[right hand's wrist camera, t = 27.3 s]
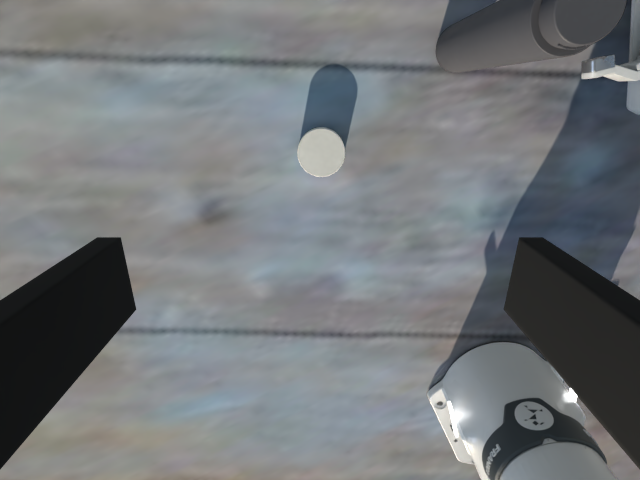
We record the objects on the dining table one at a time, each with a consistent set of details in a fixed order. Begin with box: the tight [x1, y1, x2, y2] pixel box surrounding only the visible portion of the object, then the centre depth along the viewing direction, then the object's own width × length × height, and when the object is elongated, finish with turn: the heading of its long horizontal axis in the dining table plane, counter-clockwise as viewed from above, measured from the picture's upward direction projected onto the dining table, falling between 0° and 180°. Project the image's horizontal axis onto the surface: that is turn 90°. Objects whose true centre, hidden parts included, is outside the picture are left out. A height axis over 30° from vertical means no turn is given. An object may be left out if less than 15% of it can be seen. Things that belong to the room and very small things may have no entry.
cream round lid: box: [297, 127, 345, 177], centre depth 40 cm, size 5×5×2 cm
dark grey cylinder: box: [436, 0, 627, 73], centre depth 28 cm, size 4×4×19 cm
